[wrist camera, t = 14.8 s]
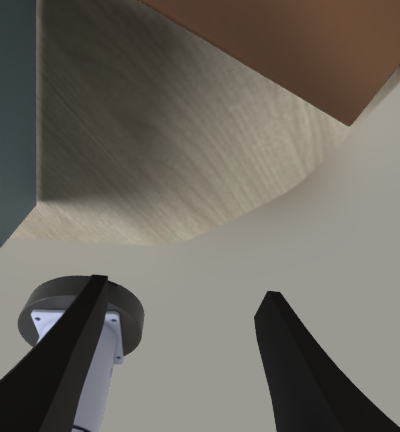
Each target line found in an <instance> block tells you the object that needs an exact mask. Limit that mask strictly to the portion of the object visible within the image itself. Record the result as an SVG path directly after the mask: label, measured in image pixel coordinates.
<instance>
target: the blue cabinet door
mask: <svg viewBox="0 0 400 432" xmlns="http://www.w3.org/2000/svg"><path fill="white" fill-rule="evenodd" d="M35 206H36V0H0V248H1V247H2V246H3V244H4V243H5V242H6V240H7V239H8V238H9V237H10V236H11V235H12V233H13V232H14V231H15V230H16V229H17V227H18V226H19V225H20V224H21V223H22V221H23V220H24V219H25V218H26V217H27V215H28V214H29V213H30V212H31V211H32V209H33V208H34V207H35Z"/></svg>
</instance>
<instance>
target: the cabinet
mask: <svg viewBox="0 0 400 432" xmlns="http://www.w3.org/2000/svg"><path fill="white" fill-rule="evenodd" d="M138 1H140V2H142V3H143V4H145V5H147V6H148V7H150V8H152V9H153V10H155V11H157V12H158V13H160V14H162V15H163V16H165V17H167V18H168V19H170V20H172V21H173V22H175V23H177V24H178V25H180V26H182V27H183V28H185V29H187V30H188V31H190V32H192V33H193V34H195V35H197V36H198V37H200V38H202V39H203V40H205V41H207V42H208V43H210V44H212V45H213V46H215V47H217V48H218V49H220V50H222V51H223V52H225V53H227V54H228V55H230V56H232V57H233V58H235V59H237V60H238V61H240V62H242V63H243V64H245V65H247V66H248V67H250V68H251V69H253V70H255V71H256V72H258V73H260V74H261V75H263V76H265V77H266V78H268V79H270V80H271V81H273V82H275V83H276V84H278V85H280V86H281V87H283V88H285V89H286V90H288V91H290V92H291V93H293V94H295V95H296V96H298V97H300V98H301V99H303V100H305V101H306V102H308V103H310V104H311V105H313V106H315V107H317V108H318V109H320V110H322V111H323V112H325V113H327V114H328V115H330V116H332V117H333V118H335V119H337V120H338V121H340V122H342V123H343V124H345V125H347V126H351V125H352V124H353V122H354V121H355V120H356V119H357V117H358V116H359V115H360V114H361V112H362V111H363V110H364V109H365V107H366V106H367V105H368V104H369V102H370V101H371V100H372V99H373V97H374V96H375V95H376V94H377V92H378V91H379V90H380V89H381V87H382V86H383V85H384V84H385V82H386V81H387V80H388V79H389V77H390V76H391V75H392V74H393V72H394V71H395V70H396V69H397V67H398V66H399V65H400V0H138Z"/></svg>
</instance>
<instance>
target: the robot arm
mask: <svg viewBox="0 0 400 432" xmlns="http://www.w3.org/2000/svg"><path fill="white" fill-rule="evenodd" d="M107 307H108V276H103V275H91V276H90V277H89V279H88V281H87V282H86V284H85V285H84V287H83V288H82V289H81V291H80V292H79V294H78V295H77V296H76V298H75V299H74V300H73V302H72V303H71V304H70V306H69V307H68V308H67V309H66V310H51V309H35V310H33V311H32V313H31V316H32V319H33V321H34V324H35V326H36V329H37V331H38V334H39V336H40V337H39V340H38V342H37V344H36V345H35V346H34V347H33V348H32V350H31V351H30V352H29V353H28V354H27V355H26V356H25V357H24V358H23V359H22V360H21V361H20V362H19V363H18V364H17V365H16V366H15V367H14V368H13V369H11V370H10V371H9V372H8V373H7V374H6V375H5V376H4V377H3V378H2V379H1V380H0V432H98V430H99V428H100V426H101V423H102V419H103V415H104V410H105V405H106V400H107V395H108V391H109V386H110V381H111V376H112V371H113V366H114V364H122V363H123V361H124V356H123V345H122V335H121V324H120V314H119V313H118V312H116V311H107ZM254 320H255V329H256V336H257V342H258V346H259V350H260V354H261V358H262V362H263V366H264V370H265V374H266V378H267V382H268V386H269V390H270V395H271V399H272V405H273V410H274V417H275V424H276V430H277V432H400V427H399V426H397V425H396V424H395V423H394V422H393V421H392V420H391V419H390V418H388V417H387V416H386V415H385V414H384V413H383V412H382V411H381V410H379V408H378V407H376V406H375V405H374V404H373V403H372V402H371V401H370V400H369V399H368V398H367V397H366V396H365V395H364V394H363V393H362V392H361V391H360V390H359V389H358V388H357V387H356V386H355V385H354V384H353V383H352V382H351V381H350V380H349V379H348V377H346V375H345V374H344V373H343V372H342V371H341V370H340V369H339V368H338V367H337V366H336V364H335V363H334V362H333V361H332V360H331V359H330V357H329V356H328V355H327V354H326V353H325V351H324V350H323V349H322V348H321V347H320V345H319V344H318V343H317V341H316V340H315V339H314V338H313V336H312V335H311V334H310V333H309V332H308V330H307V329H306V327H305V326H304V325H303V323H302V322H301V321H300V319H299V318H298V316H297V315H296V314H295V312H294V311H293V309H292V308H291V307H290V305H289V304H288V302H287V301H286V300H285V298H284V297H283V295H282V294H281V293H280V292H274V291H267V293H266V295H265V297H264V299H263V301H262V303H261V305H260V307H259V309H258V311H257V313H256V315H255V316H254Z"/></svg>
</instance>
